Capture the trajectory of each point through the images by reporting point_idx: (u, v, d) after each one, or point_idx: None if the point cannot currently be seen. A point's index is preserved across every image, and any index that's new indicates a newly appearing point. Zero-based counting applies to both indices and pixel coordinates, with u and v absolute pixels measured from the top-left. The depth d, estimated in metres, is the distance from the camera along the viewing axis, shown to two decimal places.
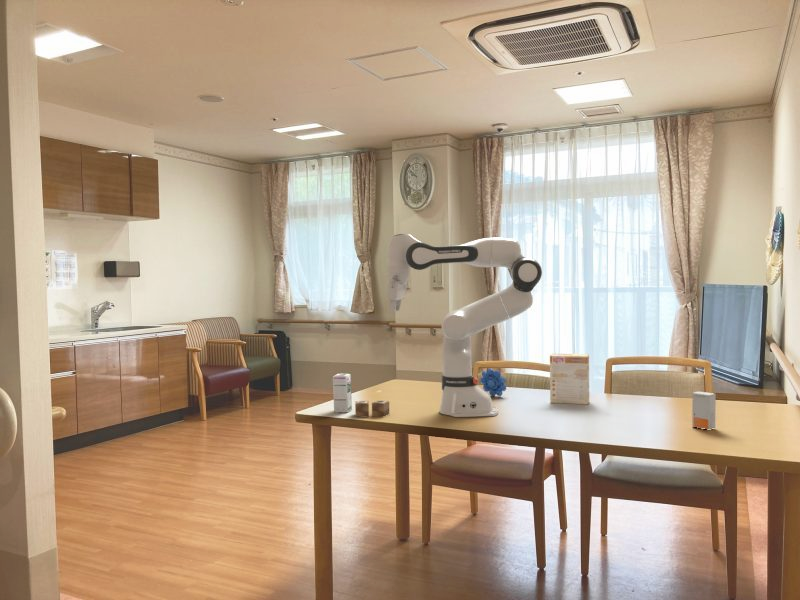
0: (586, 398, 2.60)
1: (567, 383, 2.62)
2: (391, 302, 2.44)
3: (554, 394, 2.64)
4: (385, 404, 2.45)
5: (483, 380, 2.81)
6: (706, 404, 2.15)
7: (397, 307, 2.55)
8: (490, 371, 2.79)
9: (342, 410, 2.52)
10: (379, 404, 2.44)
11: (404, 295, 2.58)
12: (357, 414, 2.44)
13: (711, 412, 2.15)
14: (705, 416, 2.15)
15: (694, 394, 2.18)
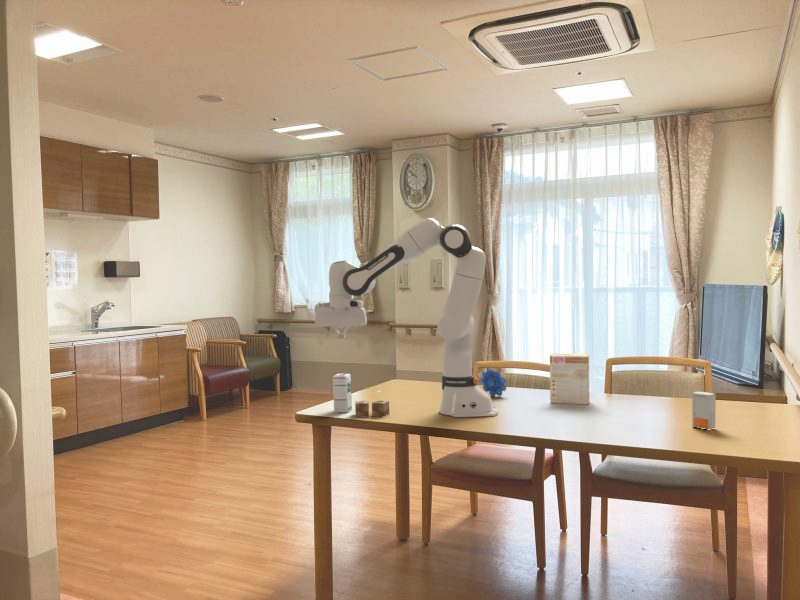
0: (586, 398, 2.60)
1: (567, 383, 2.62)
2: None
3: (554, 394, 2.64)
4: (385, 404, 2.45)
5: (483, 380, 2.81)
6: (706, 404, 2.15)
7: None
8: (490, 371, 2.79)
9: (342, 410, 2.52)
10: (379, 404, 2.44)
11: (361, 322, 2.51)
12: (357, 414, 2.44)
13: (711, 412, 2.15)
14: (705, 416, 2.15)
15: (694, 394, 2.18)
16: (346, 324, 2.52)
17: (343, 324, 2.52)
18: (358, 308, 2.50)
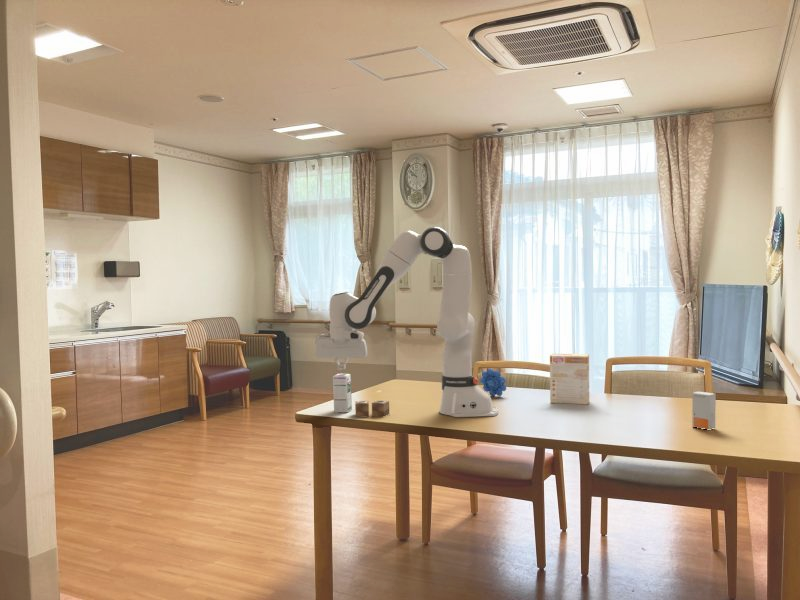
0: (586, 398, 2.60)
1: (567, 383, 2.62)
2: None
3: (554, 394, 2.64)
4: (385, 404, 2.45)
5: (483, 380, 2.81)
6: (706, 404, 2.15)
7: None
8: (490, 371, 2.79)
9: (342, 410, 2.52)
10: (379, 404, 2.44)
11: (361, 354, 2.51)
12: (357, 414, 2.44)
13: (711, 412, 2.15)
14: (705, 416, 2.15)
15: (694, 394, 2.18)
16: (346, 356, 2.52)
17: (343, 356, 2.52)
18: (358, 340, 2.50)
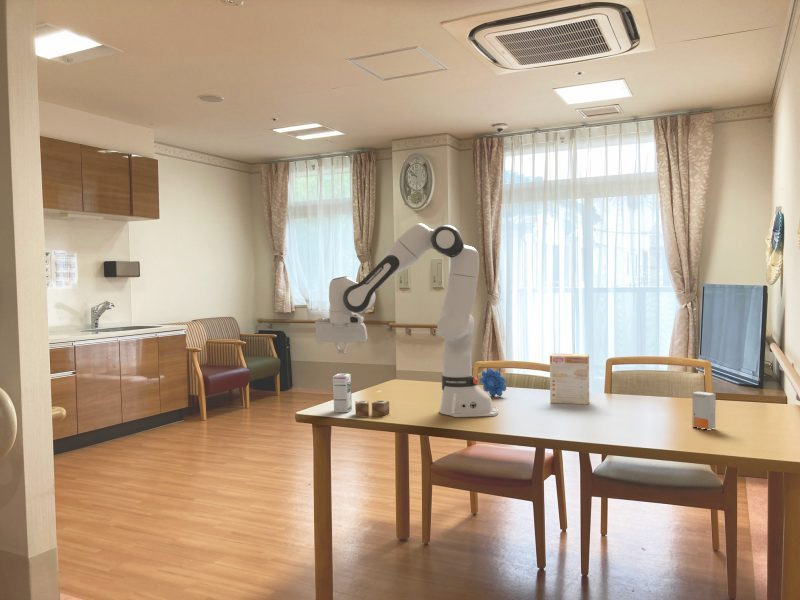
0: (586, 398, 2.60)
1: (567, 383, 2.62)
2: None
3: (554, 394, 2.64)
4: (385, 404, 2.45)
5: (483, 380, 2.81)
6: (706, 404, 2.15)
7: None
8: (490, 371, 2.79)
9: (342, 410, 2.52)
10: (379, 404, 2.44)
11: (361, 338, 2.51)
12: (357, 414, 2.44)
13: (711, 412, 2.15)
14: (705, 416, 2.15)
15: (694, 394, 2.18)
16: (346, 340, 2.52)
17: (343, 340, 2.52)
18: (358, 324, 2.50)
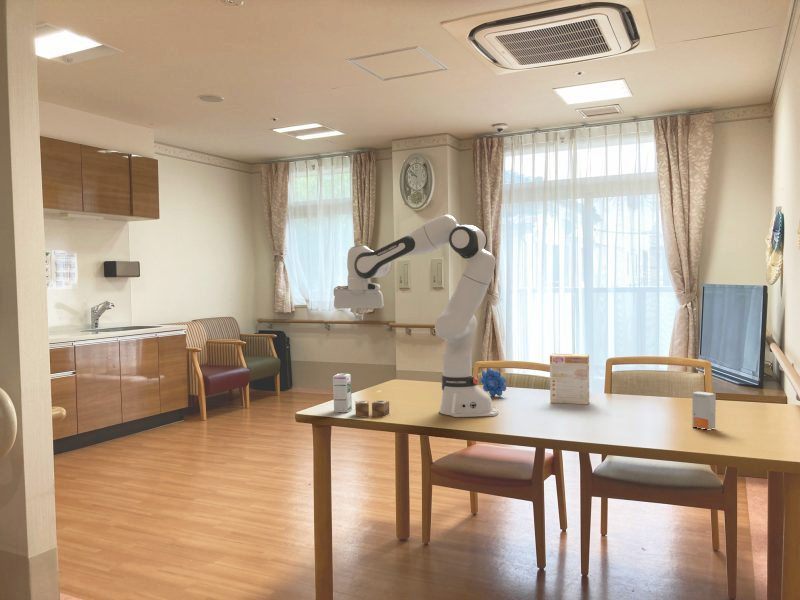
0: (586, 398, 2.60)
1: (567, 383, 2.62)
2: None
3: (554, 394, 2.64)
4: (385, 404, 2.45)
5: (483, 380, 2.81)
6: (706, 404, 2.15)
7: None
8: (490, 371, 2.79)
9: (342, 410, 2.52)
10: (379, 404, 2.44)
11: (378, 304, 2.62)
12: (357, 414, 2.44)
13: (711, 412, 2.15)
14: (705, 416, 2.15)
15: (694, 394, 2.18)
16: (364, 306, 2.63)
17: (361, 306, 2.63)
18: (375, 291, 2.61)
